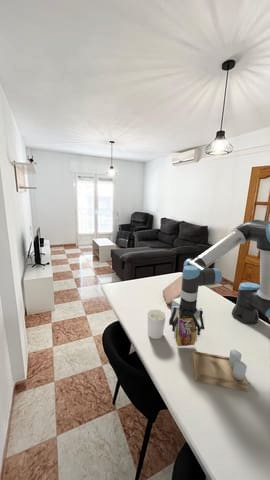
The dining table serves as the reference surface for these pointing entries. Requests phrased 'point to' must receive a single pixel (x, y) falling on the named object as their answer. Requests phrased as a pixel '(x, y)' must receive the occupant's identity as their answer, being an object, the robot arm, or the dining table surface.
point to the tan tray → (216, 371)
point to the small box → (176, 303)
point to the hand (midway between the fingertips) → (185, 338)
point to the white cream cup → (156, 323)
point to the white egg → (234, 357)
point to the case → (173, 291)
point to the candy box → (185, 331)
